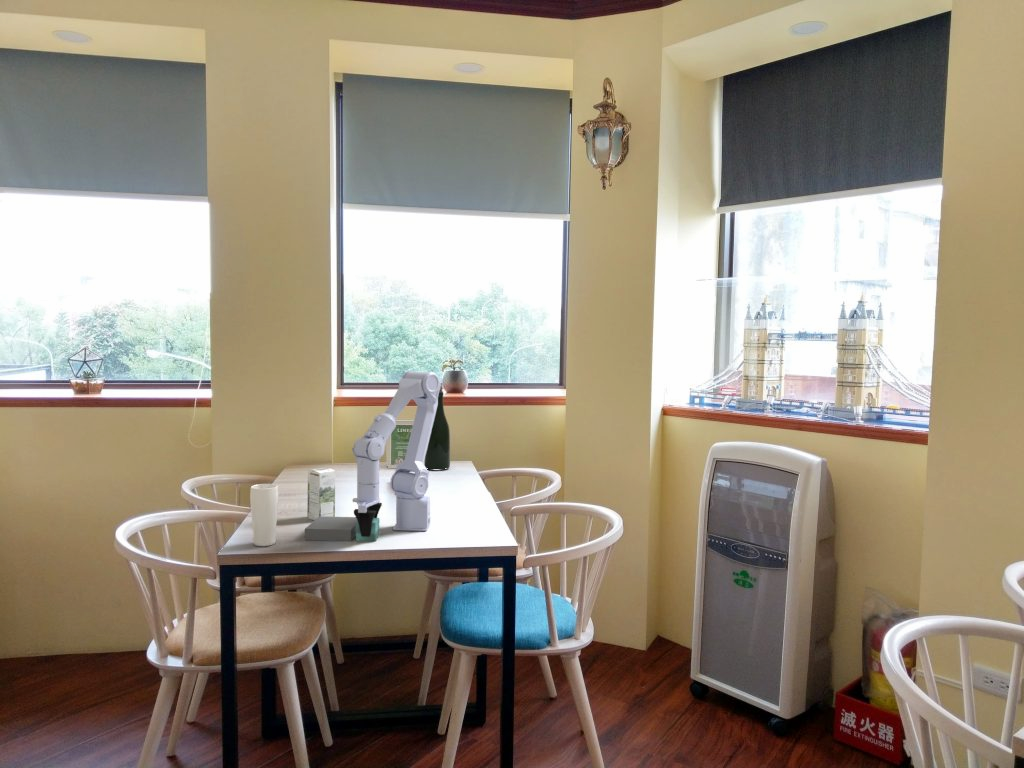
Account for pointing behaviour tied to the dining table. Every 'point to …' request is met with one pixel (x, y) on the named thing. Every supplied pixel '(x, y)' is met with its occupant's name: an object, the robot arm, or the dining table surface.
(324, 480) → the syrup box
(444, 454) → the dark green bottle
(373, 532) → the teal cube
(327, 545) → the dining table surface
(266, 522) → the drinking glass
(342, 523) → the gray square slab
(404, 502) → the robot arm
